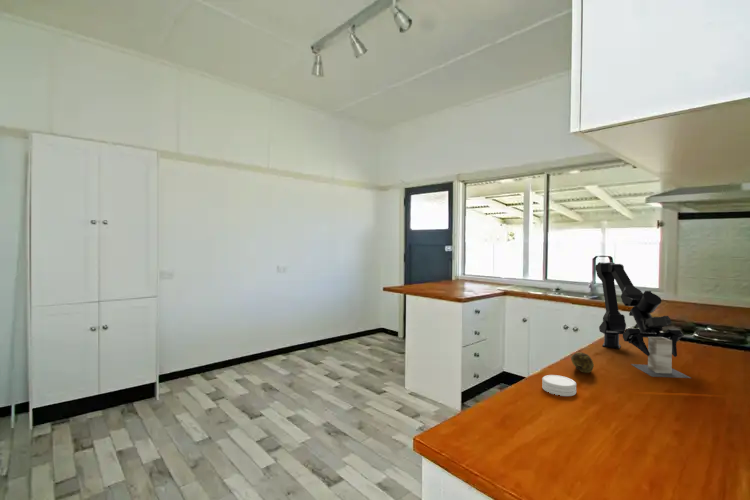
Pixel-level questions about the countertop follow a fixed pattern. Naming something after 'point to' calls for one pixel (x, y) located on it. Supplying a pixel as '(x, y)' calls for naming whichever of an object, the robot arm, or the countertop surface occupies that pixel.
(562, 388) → the coaster
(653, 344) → the tall block
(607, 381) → the countertop surface
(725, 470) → the countertop surface
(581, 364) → the potato
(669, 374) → the rubber mat
